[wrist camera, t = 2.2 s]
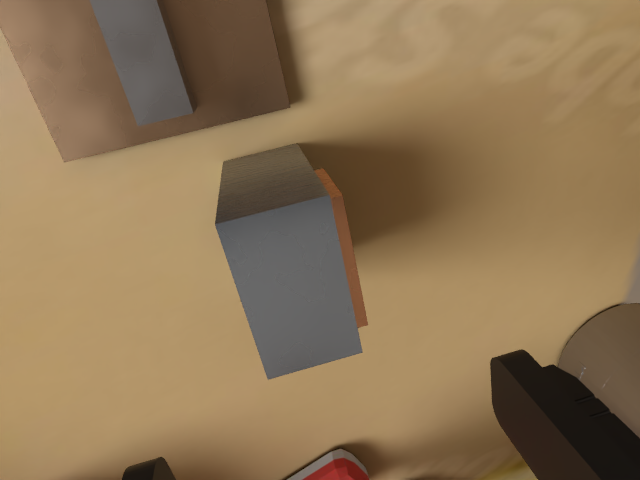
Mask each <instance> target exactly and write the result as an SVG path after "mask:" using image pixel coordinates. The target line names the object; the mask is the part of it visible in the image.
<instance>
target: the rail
mask: <svg viewBox="0 0 640 480" xmlns="http://www.w3.org/2000/svg"><path fill="white" fill-rule="evenodd" d="M0 28H1V30H2V32H3V34H4V36H5V38H6V41H7V43H8V45H9V47H10V49H11V51H12V53H13V55H14V57H15V60H16V62H17V64H18V66H19V68H20V70H21V72H22V74H23V76H24V79H25V81H26V83H27V85H28V87H29V89H30V91H31V93H32V95H33V98H34V100H35V102H36V104H37V106H38V108H39V110H40V112H41V114H42V117H43V119H44V121H45V123H46V125H47V127H48V129H49V131H50V133H51V136H52V138H53V140H54V142H55V144H56V146H57V148H58V150H59V152H60V155H61V157H62V159H63V161H64V162H68V161H72V160H76V159H80V158H84V157H88V156H92V155H97V154H101V153H105V152H109V151H113V150H117V149H121V148H126V147H130V146H134V145H138V144H142V143H146V142H150V141H154V140H159V139H163V138H167V137H171V136H175V135H179V134H183V133H187V132H192V131H196V130H200V129H204V128H208V127H212V126H216V125H220V124H225V123H229V122H233V121H237V120H241V119H245V118H249V117H254V116H258V115H262V114H266V113H270V112H274V111H278V110H282V109H287V108H290V103H289V99H288V95H287V90H286V86H285V82H284V77H283V73H282V69H281V64H280V60H279V55H278V51H277V47H276V42H275V38H274V34H273V29H272V25H271V21H270V16H269V12H268V8H267V3H266V0H0Z"/></svg>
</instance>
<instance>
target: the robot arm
mask: <svg viewBox="0 0 640 480" xmlns="http://www.w3.org/2000/svg"><path fill="white" fill-rule="evenodd" d="M490 366H491V388H492V405H493V409H494V412H495V415H496V418H497V420H498V422H499V424H500V426H501V427H502V429H503V430H504V432H505V433H506V435H507V436H508V437H509V439H510V440H511V442H512V443H513V445H514V446H515V447H516V449H517V450H518V452H519V453H520V454H521V456H522V457H523V459H524V460H525V462H526V463H527V464H528V466H529V467H530V469H531V470H532V471H533V473H534V474H535V476H536V477H537V479H538V480H640V304H639V303H632V304H624V305H620V306H617V307H613V308H611V309H609V310H606V311H604V312H602V313H600V314H599V315H597V316H595V317H594V318H592V319H591V320H589V321H588V322H587V323H586V324H585V325H583V326H582V327H581V328H580V329H579V330H578V331H577V332H576V333H575V334H574V336H573V337H572V338H571V339H570V340H569V342H568V344H567V345H566V347H565V348H564V350H563V352H562V355H561V357H560V360H559V364H558V367H556V366H554V365H553V364H552V365H549V366H546V367H543V368H542V367H541V366H540V365H539V364H538V363H537V362H536V361H535V359H534V358H533V357H532V356H531V355H530V354H529V353H528V352H526V351H525V350H518V351H514V352H511V353H508V354H504V355H501V356H498V357H494V358H492V359H491V363H490ZM122 480H176V479H175V477H174V475H173V473H172V471H171V470H170V468H169V466H168V464H167V462H166V461H165V459H164V458H162V457H159V458H156V459H153V460H150V461H146V462H143V463H140V464H136V465H133V466H130V467H128V468H127V469H126V470H125V472H124V474H123V478H122Z"/></svg>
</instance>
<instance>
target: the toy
mask: <svg viewBox="0 0 640 480" xmlns="http://www.w3.org/2000/svg"><path fill="white" fill-rule="evenodd" d="M287 480H370V479H369V476H368V473H367V471H366V468H365V466H364V465H363V464H362V463H361V462H360V461H359V460H358V459H357V458H356V457H355V456H354V455H353V454H351V453H349V452H347V451H345V450H343V449H338V450H335V451H331V452H330V453H328V454H327V455H325V456H323V457H322V458H320V459H319V460H317V461H316V462H314V463H312V464H311V465H309V466H308V467H306V468H304V469H303V470H301V471H300V472H298V473H296V474H295V475H293V476H292V477H290V478H289V479H287Z"/></svg>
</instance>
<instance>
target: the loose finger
mask: <svg viewBox="0 0 640 480" xmlns="http://www.w3.org/2000/svg"><path fill="white" fill-rule="evenodd" d="M215 226H216V229H217V232H218V235H219V238H220V240H221V243H222V246H223V249H224V252H225V255H226V258H227V261H228V264H229V267H230V270H231V273H232V276H233V279H234V281H235V284H236V287H237V290H238V293H239V296H240V299H241V302H242V305H243V308H244V311H245V314H246V317H247V320H248V323H249V325H250V328H251V331H252V334H253V337H254V340H255V343H256V346H257V349H258V352H259V355H260V358H261V361H262V364H263V366H264V369H265V372H266V375H267V378H268V379H272V378H275V377H279V376H282V375H286V374H289V373H293V372H296V371H300V370H303V369H307V368H310V367H314V366H317V365H321V364H324V363H328V362H331V361H335V360H338V359H342V358H345V357H349V356H352V355H356V354H359V353H363V352H362V347H361V343H360V338H359V333H358V328H359V327H362V326H366V325H368V322H367V317H366V312H365V307H364V302H363V297H362V291H361V286H360V281H359V276H358V271H357V266H356V261H355V256H354V250H353V245H352V240H351V235H350V230H349V225H348V220H347V215H346V210H345V204H344V199H343V195H342V194H341V192H340V191H339V189H338V188H337V187H336V185H335V184H334V182H333V181H332V180H331V178H330V177H329V175H328V174H327V173H326V171H325V170H324V168H323V169H319V170H315V171H314V169H313V168H312V166H311V165H310V163H309V161H308V160H307V158H306V157H305V155H304V154H303V152H302V150H301V149H300V147H299V146H298V144H293V145H289V146H285V147H281V148H277V149H273V150H269V151H265V152H261V153H257V154H253V155H249V156H245V157H241V158H237V159H232V160H228V161H224V162H223V167H222V174H221V182H220V190H219V198H218V205H217V213H216V221H215Z"/></svg>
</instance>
